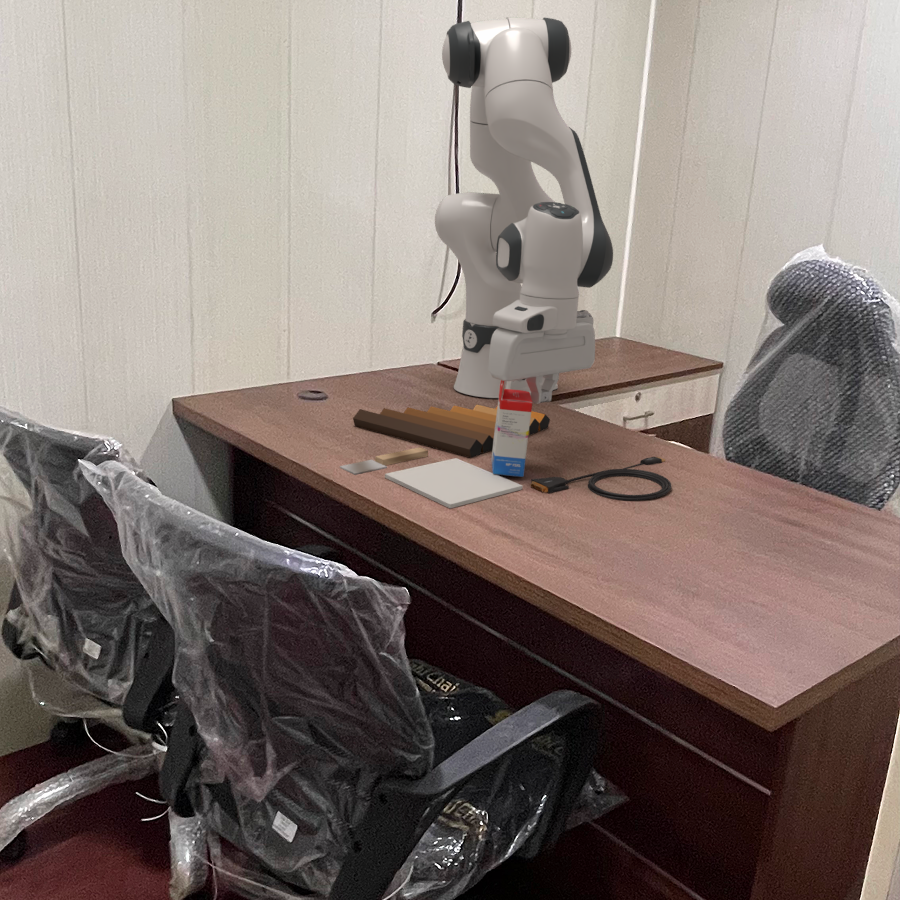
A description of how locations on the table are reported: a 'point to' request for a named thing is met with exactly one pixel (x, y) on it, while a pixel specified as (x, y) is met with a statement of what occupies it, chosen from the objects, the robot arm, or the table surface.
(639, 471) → the cable
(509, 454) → the ink box
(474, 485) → the mat
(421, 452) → the turner
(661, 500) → the table surface
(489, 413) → the pan flute
